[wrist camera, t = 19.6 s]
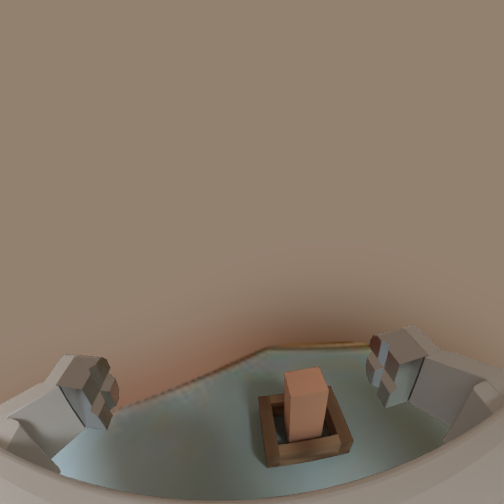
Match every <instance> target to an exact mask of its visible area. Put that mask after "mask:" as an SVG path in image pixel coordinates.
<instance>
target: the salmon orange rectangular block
mask: <svg viewBox="0 0 504 504" xmlns="http://www.w3.org/2000/svg"><path fill="white" fill-rule="evenodd" d="M328 393H329V389H328V387H327V384H326V382H325V380H324V377H323V375H322V372H321V370H320V367H314V368H308V369H302V370H295V371H288V372H284V425H285V430H286V434H287V439H288V444H289V443H296V442H302V441H307V440H313V439H318V438H321V434H322V429H323V423H324V418H325V412H326V406H327V400H328Z"/></svg>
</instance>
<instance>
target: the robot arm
mask: <svg viewBox="0 0 504 504" xmlns="http://www.w3.org/2000/svg"><path fill="white" fill-rule="evenodd" d="M369 347H370V348H371V350H372V352H371V353H370V355H369V356H368V357H367V361H366V374H367V377H368V380H369V382H370V384H371V385H372V386H375V387H377V388H378V392H377V396H378V397H379V399H380V401H381V402H382V404H383V406H384V408H388V407H392V406H395V405H398V404H401V403H404V402H407V401H409V402H408V403H410V404H412V405H413V406H415V407H417V408H418V409H420V410H422V411H423V412H425V413H427V414H428V415H430V416H432V417H434V418H435V419H437V420H439V421H440V422H442V423H444V424H446V425H447V426H449V427H451V428H450V429H449V431H448V432H447V434H446V435H445V437H444V439H443V441H442V442H443V443H444V445H442V446H440V447H438V448H436V449H434V450H432V451H430V452H428V453H426V454H424V455H422V456H419V457H417V458H415V459H413V460H410V461H408V462H406V463H403V464H401V465H398V466H396V467H393V468H391V469H388V470H385V471H383V472H380V473H377V474H374V475H371V476H368V477H365V478H362V479H359V480H355V481H352V482H348V483H345V484H341V485H337V486H333V487H329V488H324V489H320V490H315V491H310V492H305V493H299V494H293V495H286V496H279V497H271V498H261V499H248V500H223V501H209V500H184V499H172V498H162V497H154V496H147V495H140V494H134V493H129V492H123V491H118V490H114V489H109V488H105V487H101V486H97V485H93V484H90V483H86V482H83V481H79V480H76V479H73V478H70V477H67V476H64V475H61V474H60V472H61V471H60V469H59V467H58V466H57V465H56V464H55V463H54V462H53V461H52V460H51V458H53V457H54V456H55V455H56V454H57V453H58V452H59V451H60V450H62V449H63V448H64V447H65V446H66V445H67V444H68V443H69V442H70V441H72V440H73V439H74V438H75V437H76V436H77V435H78V434H79V433H80V432H82V431H83V430H84V429H85V427H88V428H94V429H101V430H107V429H108V426H109V424H110V421H111V418H112V416H113V415H112V413H111V409H112V408H114V407H115V406H116V405H117V402H118V399H119V388H118V384H117V381H116V379H115V378H114V377H113V376H112V375H111V374H109V370H110V366H109V364H108V362H107V360H106V359H105V358H103V357H93V356H82V355H71V354H66V355H63V356H62V358H61V359H60V360H59V362H58V363H57V365H56V366H55V367H54V369H53V370H52V372H51V373H50V374H49V376H48V377H47V379H46V380H45V382H44V383H39V384H37V385H35V386H33V387H32V388H30V389H28V390H26V391H24V392H22V393H21V394H19V395H17V396H15V397H13V398H11V399H10V400H8V401H6V402H4V403H2V404H0V504H504V369H503V368H500V367H497V366H493V365H490V364H487V363H483V362H481V361H477V360H475V359H471V358H468V357H465V356H462V355H459V354H456V353H453V352H450V351H447V350H443V351H441V350H440V349H439V348H438V347H437V346H436V345H435V344H434V343H433V342H432V341H431V340H430V339H429V338H428V337H427V336H426V335H425V334H424V333H423V332H422V331H421V330H420V329H419V328H418V327H417V326H414V325H411V326H407V327H404V328H401V329H398V330H394V331H390V332H386V333H382V334H377V335H373V336H372V338H371V340H370V345H369Z"/></svg>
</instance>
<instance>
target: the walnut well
mask: <svg viewBox="0 0 504 504" xmlns="http://www.w3.org/2000/svg"><path fill="white" fill-rule="evenodd" d="M328 389H329V393H328V400H327V406H326V412H325V421H326V424H327V427H328V430H329V433H330V435H331V436H327V437H323V438H318V439H313V440H307V441H302V442H296V443H289V444H282V445H278V441H277V436H276V430H275V424H274V418H273V416H281V415H284V394H278V395H270V396H261V397H258V398H259V409H260V418H261V425H262V433H263V441H264V448H265V456H266V463H267V468H269V467H277V466H285V465H291V464H298V463H303V462H309V461H314V460H319V459H324V458H328V457H333V456H337V455H341V454H345V453H348V452H349V451H350V448H351V446H352V443H353V438H352V436H351V433H350V431H349V428H348V426H347V423H346V421H345V419H344V416H343V414H342V411H341V409H340V407H339V404H338V402H337V400H336V397H335V395H334V392H333V390H332V388H331V386H328Z"/></svg>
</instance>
